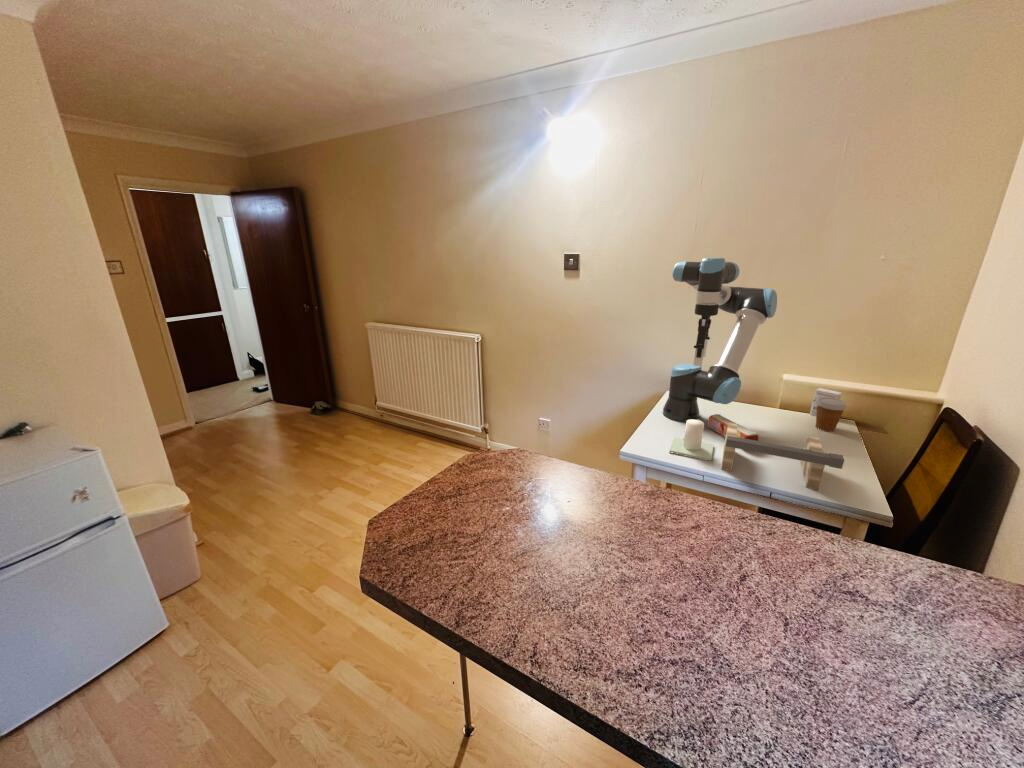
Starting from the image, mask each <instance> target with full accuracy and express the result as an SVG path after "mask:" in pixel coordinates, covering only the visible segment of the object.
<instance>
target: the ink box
mask: <svg viewBox="0 0 1024 768" xmlns="http://www.w3.org/2000/svg"><path fill="white" fill-rule="evenodd" d="M842 395H843V392H840V391H835V390H831V389H826V388H821V387H819V388H817V389H815V391H814V394H813V399H812V403H811V408H810V412H809V415H810V416H813V417H816V416H817V401H818V399H819V398H822V397H828V398H835V399H839V400H842Z"/></svg>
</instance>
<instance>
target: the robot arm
mask: <svg viewBox="0 0 1024 768" xmlns="http://www.w3.org/2000/svg"><path fill="white" fill-rule="evenodd" d="M739 275H740V267H739V265H738V264H737V263H735V262H733V261H726V259H725V258H724V257H704V258H702V260H701V261H687V260H686V261H678V262H677V263H676V264H675V265H674V266H673V269H672V278H673V280H674V281H675V282H678V283H686V284H688V285H689V286H691V287H692V288H693V289H695V290H696V297H695V302H696V304H695V307H694V314H695V315H697V316H701V317H700V318H699V320H698V321H697V322H698V323H697V325H698V327H697V337H696V343H695V345H693V349H695V351H694V357H693V358H694V359H693V363H682V364H677V365H674V366H673V367H672V369H671V372H670V382H669V390H668V397H667V400H666V402H665V403H664V405H663V408H662V414H663V416H664V417H666V418H667V419H670V420H672V421H678V422H686V421H687V420H690V419H695V420H699V419H700V409H699V405H698V404H699V403H698V399H702V400H705V401H709V402H713V403H715V404H721V405H729V404H732V402H734V400H735V399H736V398H737V396H738V394H739V393H740V389H741V386H742V381H741V379H740V374H739V372H738V371H739V370H740V367H741V364H742V363H743V360H744V358H745V356H746V354H747V353H748V350H749V347H750V345H751V343H752V341H753V339H754V337H755V335H756V332H757V330H758V328H759V326H760V325H762V324H765V322H766V321H767V318H768V319H771V318H773V317H774V316H775V315H776V310H777V306H778V295H777V291H776V290H774V289H772V288H765V287H763V288H758V287H757V288H756V287H745V286H743V287H742V286H730V285H727V284H730V283H732V282H735V281H736V280H737V279H738V278H739ZM719 310H721V311H723V312H725V313H729V314H735V316H736V318H737V319H736V321H735V323H734V324H733V327H732V329H731V331H730V333H729V336H728V338H727V339H726V342H725V343H724V346H723V348H722V351H721V352H720V354H719V356H718V359H717V361H716V363H715V364H713V365H710V367H709V368H708V371H706V370H702V369H703V368H702V367H703V360H704V358H706V355H707V354H706V353H707V346H708V340H709V341H710V336H709V331H710V329H711V324H712V319H711V316H712V317H714V316H717V315H718V314H719Z"/></svg>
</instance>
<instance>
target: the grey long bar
mask: <svg viewBox="0 0 1024 768" xmlns="http://www.w3.org/2000/svg"><path fill="white" fill-rule="evenodd" d="M726 446H727V447H733V448H735V449H738V450H742V451H743V450H745V451H749V452H755V453H760V454H765V455H770V456H775V457H781V458H786V459H791V460H796V461H797V460H798V461H801V462H802V461H806V462H812V463H817V464H822V465H825V466H828V467H830V468H834V469H840V470H842V469H843V465H844V462H845V458H844V456H843V454H838V453H832V452H829V453H828V452H824V453H823V452H817V451H812V450H806V449H805V448H800V447H794V446H790V445H789V446H788V445H785V444H784V445H782V444H777V443H772V442H767V441H761V440H760V441H759V440H758V441H756V440H750V439H744V438H739V437H733V436H727V440H726Z"/></svg>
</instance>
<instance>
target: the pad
mask: <svg viewBox="0 0 1024 768" xmlns="http://www.w3.org/2000/svg"><path fill="white" fill-rule="evenodd" d="M683 444H684V438H681V437H676V436H674V437H673V440H672V443H671V445H670V448H669V452H673V453H678V454H682V455H681V456H683V455H686V456H685V457H688V456H691V457H690V458H692V457H695V458H694V459H697V458H699V459H698V460H702V459H704V460H703V461H707V460H709V461H708V462H711V461H712V457H713V451H714V446H715V444H713V443H707V442H704V441H702V443H701V449H700V450H698V451H691V450H687V449H685V448H684V447H683ZM673 453H672V454H673ZM678 454H677V455H678Z"/></svg>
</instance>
